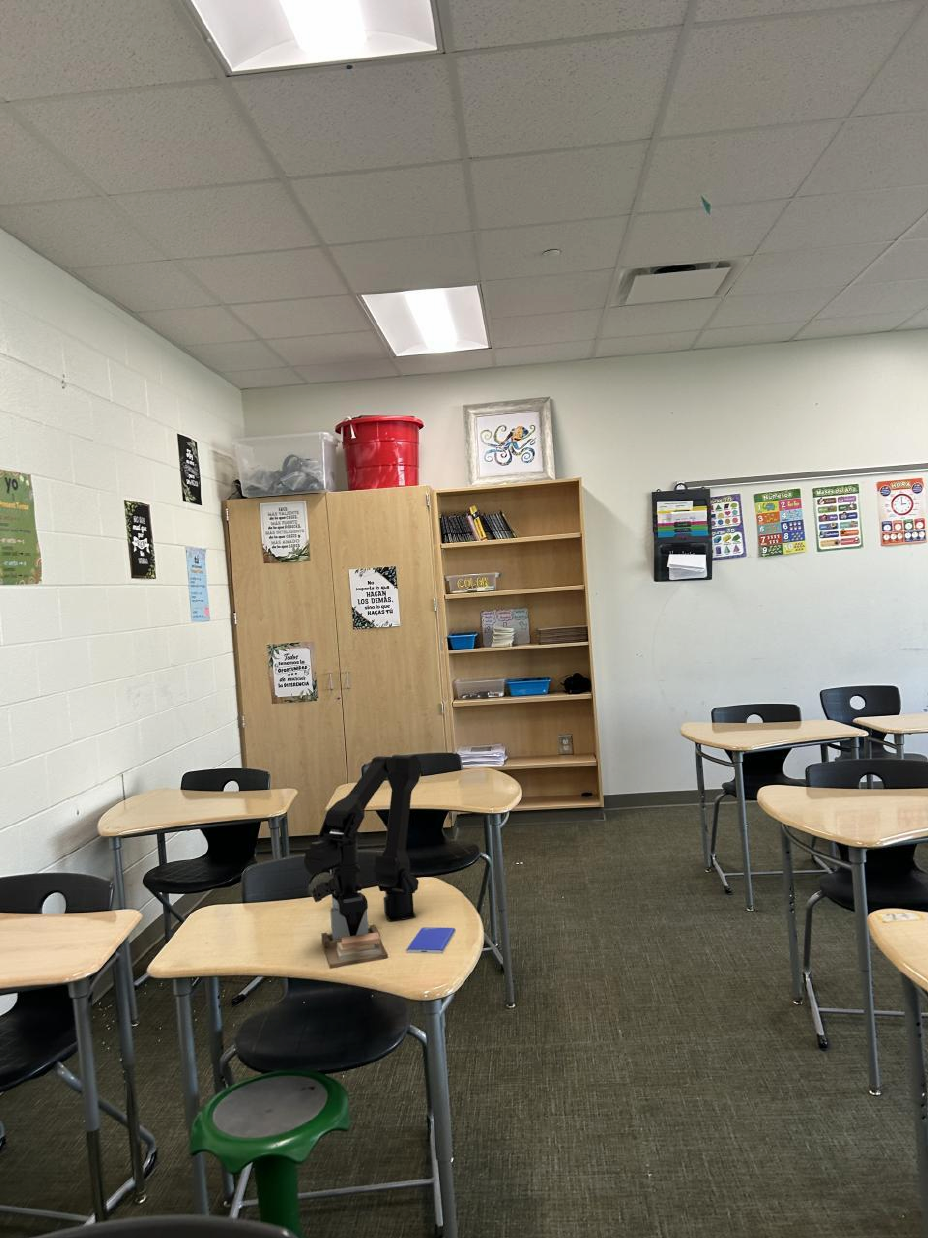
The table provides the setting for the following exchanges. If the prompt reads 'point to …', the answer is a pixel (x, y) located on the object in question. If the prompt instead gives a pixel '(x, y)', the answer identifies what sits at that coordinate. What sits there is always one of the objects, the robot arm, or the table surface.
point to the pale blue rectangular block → (345, 925)
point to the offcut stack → (358, 946)
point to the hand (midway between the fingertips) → (350, 931)
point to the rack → (333, 959)
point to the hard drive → (431, 940)
